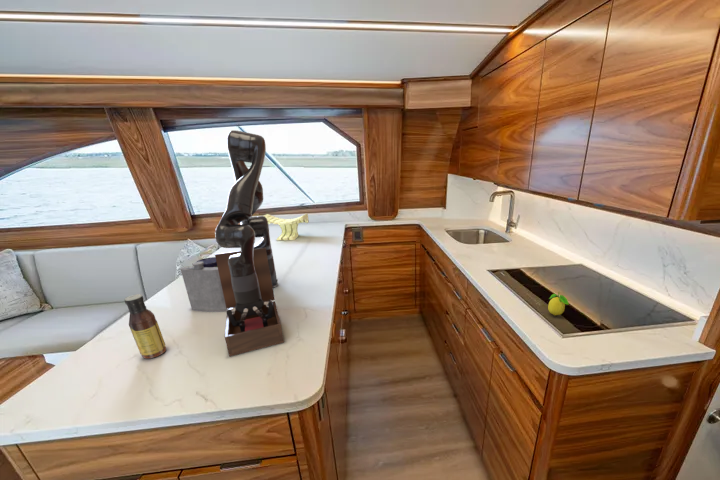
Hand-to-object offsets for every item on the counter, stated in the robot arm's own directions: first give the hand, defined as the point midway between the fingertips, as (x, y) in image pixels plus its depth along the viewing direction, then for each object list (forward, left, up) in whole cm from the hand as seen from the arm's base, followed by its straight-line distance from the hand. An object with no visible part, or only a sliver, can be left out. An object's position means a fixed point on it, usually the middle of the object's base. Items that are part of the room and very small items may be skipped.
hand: (255, 331), depth 100 cm
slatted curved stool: (-89, +112, -2) cm, 143 cm away
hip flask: (-34, +8, -2) cm, 35 cm away
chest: (-1, +1, -2) cm, 2 cm away
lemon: (+94, +53, -2) cm, 108 cm away
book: (0, 0, -1) cm, 1 cm away
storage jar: (-48, +21, -2) cm, 52 cm away
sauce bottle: (-22, -19, -2) cm, 29 cm away
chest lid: (-9, +8, +15) cm, 19 cm away
